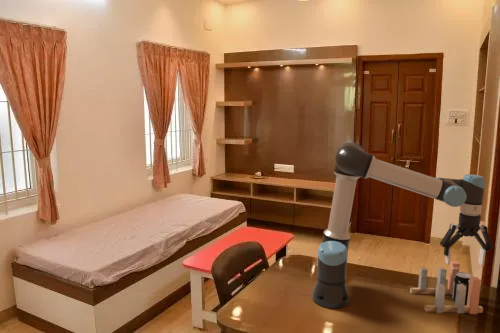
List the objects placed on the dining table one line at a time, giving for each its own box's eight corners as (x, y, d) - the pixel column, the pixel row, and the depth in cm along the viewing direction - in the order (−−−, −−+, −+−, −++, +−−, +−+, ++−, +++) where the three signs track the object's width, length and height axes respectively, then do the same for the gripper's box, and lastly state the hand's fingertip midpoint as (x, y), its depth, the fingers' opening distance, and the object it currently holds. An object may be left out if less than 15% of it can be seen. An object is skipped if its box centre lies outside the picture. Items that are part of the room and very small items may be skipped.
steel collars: (436, 313, 152) (439, 286, 151) (417, 291, 171) (419, 267, 169) (463, 313, 152) (466, 287, 150) (441, 291, 170) (444, 267, 169)
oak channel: (425, 311, 153) (426, 306, 153) (409, 291, 170) (410, 287, 169) (482, 312, 153) (483, 308, 153) (460, 292, 169) (461, 288, 169)
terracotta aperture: (470, 314, 152) (473, 280, 150) (447, 291, 170) (449, 261, 168) (477, 314, 152) (480, 280, 150) (453, 291, 170) (456, 261, 168)
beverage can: (473, 306, 158) (476, 278, 156) (457, 306, 158) (459, 278, 156) (464, 298, 164) (467, 271, 163) (449, 298, 165) (451, 271, 163)
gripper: (443, 215, 152) (437, 266, 155) (507, 217, 151) (500, 268, 155) (434, 209, 159) (429, 259, 163) (496, 212, 159) (489, 261, 162)
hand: (464, 263), depth 159 cm, fingers open, 13 cm apart
